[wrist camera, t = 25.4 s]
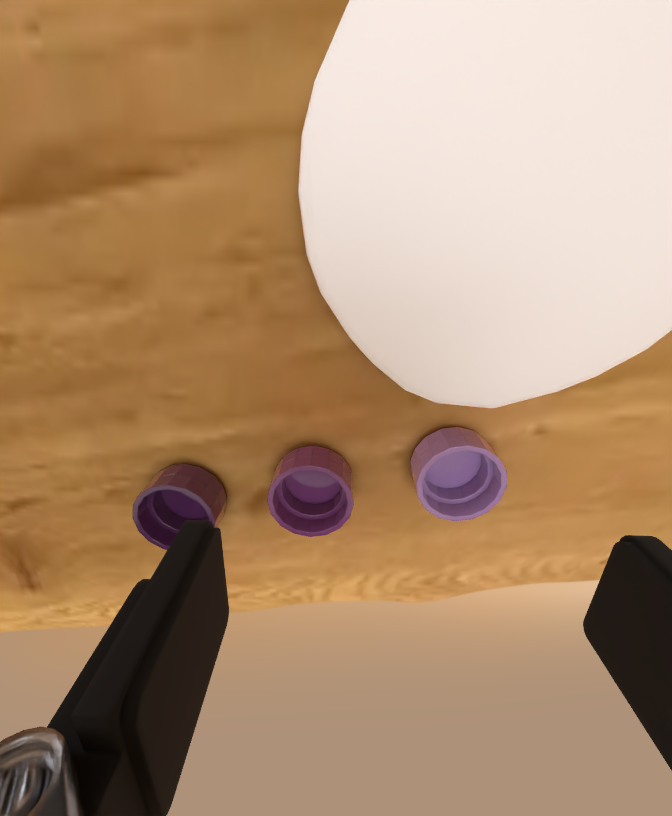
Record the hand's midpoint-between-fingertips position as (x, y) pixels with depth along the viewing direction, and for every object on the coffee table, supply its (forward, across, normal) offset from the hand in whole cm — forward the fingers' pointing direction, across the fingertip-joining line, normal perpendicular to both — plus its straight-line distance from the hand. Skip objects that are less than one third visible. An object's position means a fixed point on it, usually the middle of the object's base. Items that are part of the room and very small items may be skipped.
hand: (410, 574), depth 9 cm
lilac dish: (+22, -8, +9) cm, 25 cm away
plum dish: (+22, +4, +12) cm, 25 cm away
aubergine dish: (+22, +15, +14) cm, 30 cm away
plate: (+22, -9, -11) cm, 26 cm away
